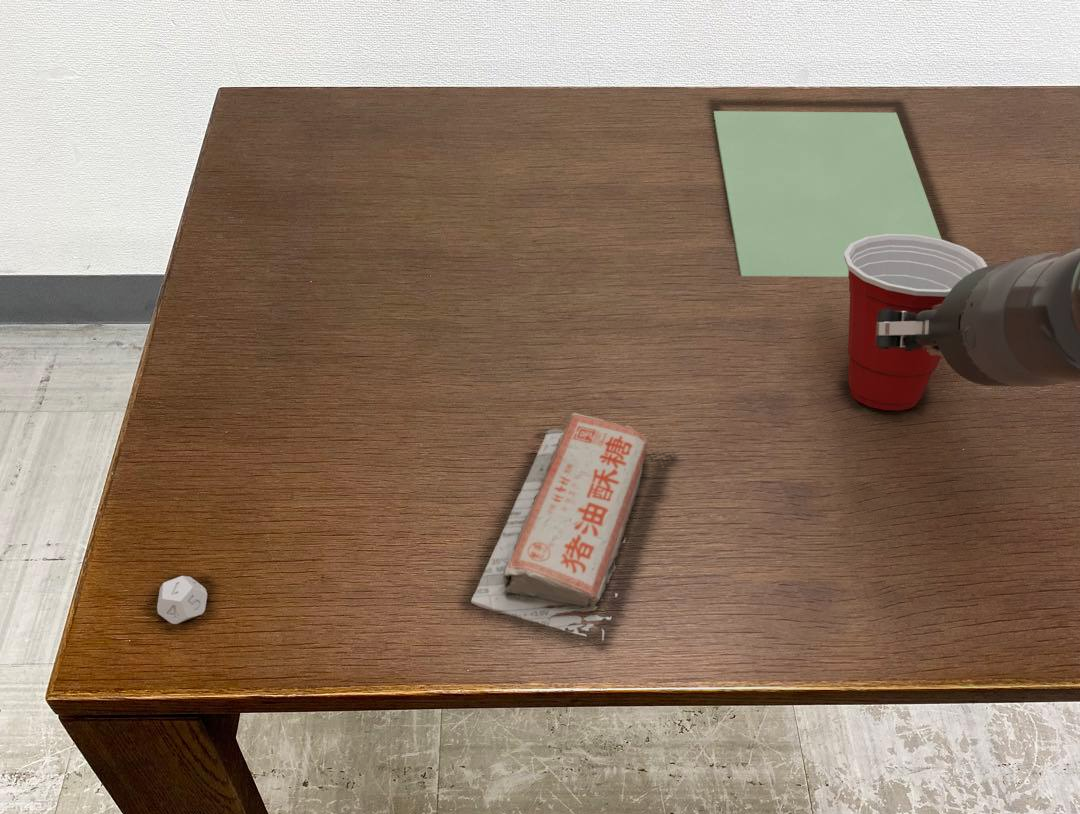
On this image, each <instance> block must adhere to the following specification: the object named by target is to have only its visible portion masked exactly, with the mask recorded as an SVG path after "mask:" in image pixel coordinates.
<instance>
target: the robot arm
mask: <svg viewBox="0 0 1080 814" xmlns="http://www.w3.org/2000/svg"><path fill="white" fill-rule="evenodd" d="M876 336H877V337H876V347H879V348H881V349H889V348H892V349H905V351H912V350H926V352H929V355H930V356H941V358H940V359H944V360H945V362H946V363H947V364H948V365H949V367H950V368H951V369H952V371H954V372H955V373H956V374H957V375H959V376H960V377H961V378H963V379H965V380H967V381H969V382H971V383H974V384H977V385H980V386H981V385H982V386H988V387H1049V386H1056V385H1059V384H1065V383H1080V247H1077V248H1073V249H1070V250H1066V251H1061V252H1059V251H1056V252H1055V251H1053V252H1041V253H1036V254H1030V255H1027V256H1023V257H1019V258H1015V259H1010V260H1006V261H1003V262H999V263H995V264H991V265H987V267H984V268H981V269H978V270H976V271H974V272H972V273H970V274H968V275H967V276H965V277H964V278H963V279H961V280H960V281H959V282H958V283H957V284H956V285H955V286H954V287H953V288H952V289H951V291H950V292H949V293H948V295H947V296H946V298H945V299H944V301H943V303H942V304H939V305H935V306H933V307H932V309H931V310H926V311H922V312H920V313H919V314H914V312H907V311H896V310H891V308H884V309H883V310H881V311H877V327H876Z"/></svg>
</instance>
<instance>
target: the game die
mask: <svg viewBox="0 0 1080 814" xmlns="http://www.w3.org/2000/svg"><path fill="white" fill-rule="evenodd" d="M158 592H159V593H158V598H157V603H156V605H157V606H156V609H157V615H159V616H160V617H162V618H163V619H164V620H166V621H167V622H168V623H170V624H171V625H179V624H180V623H183V622H185V621H188V620H191V619H194V618H196V617H200V616H201V615H203V614H204V612H205V611H206V607H207V599H208V592H207V589H206V588H205V587H204V586H203V585H202V584H200V583H199V582H198V581H197V580H195V579H194V578H193V577H191V576H187V575H180V576H177V577H175V578H173V579H169V580H167V581H165V582H162V584H161V586H160V587H159V591H158Z"/></svg>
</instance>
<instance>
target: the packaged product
mask: <svg viewBox="0 0 1080 814" xmlns="http://www.w3.org/2000/svg"><path fill="white" fill-rule="evenodd" d="M647 439H648V438H647V437H646V436H645V435H644V434H642V433H640V432H639V431H636V429H634V428H633V427H632V426H630V425H628V424H627V425H622V424H619V423H616V422H609V421H606V420H604V419H602V418H597V417H594V416H589V415H584V414H580V413H577V412H572V413H571V415H570V418H569V419H568V421H567V426H566V427H565V428H564V429H563V430H561V429H559V428H554V429H553V428H552V429H549V430H546V433H545V435H544V438H543V440H542V443H541V445H540V447H539V450H538V451H537V453H536V456H535V459H534V461H533V463H532V465H531V467H530V470H529V472H528V474H527V476H526V479H525V481H524V483H523V485H522V487H521V490H520V492H519V494H518V495H517V497H516V500H515V502H514V504H513V507H512V510H511V511H510V514H509V516H508V518H507V521H506V523H505V525H504V528H503V530H502V532H501V534H500V536H499V539H498V541H497V543H496V545H495V547H494V549H493V551H492V553H491V556H490V558H489V560H488V563H487V565H486V567H485V569H484V571H483V573H482V576H481V578H480V580H479V583H478V585H477V588H476V590H475V592H474V594H473V596H472V597H471V601H470V603H471V604H472V605H475V606H476V607H479V608H483V609H487V610H489V611H492V612H497V613H499V614H502V615H503V614H504V615H508V616H510V617H514V618H519V619H522V620H523V621H524V620H525V621H529V622H534V623H537V624H540V625H543V626H547V627H550V628H555V629H558V630H561V631H564V632H566V633H567V632H568V633H571V634H575V635H579V636H583V637H587V638H588V635H587V634H586V633H581V632H580V631H579V630H578V628H580V629H581V630H582V631H585V632H589V629H590V628H592V627H594V626H595V625H594V623H587V624H586V625H585V624H582V621H583V620H584V621H586V622H590V621H592V622H593V621H602V620H603V619H605V620H606V621H611V620H612V616H599V614H591V615H586V616H585V617H584V618H582V617H581V616H579V615H560V616H555V615H556V614H563V613H564V614H565V613H572V612H583V613H585V612H588V613H589V612H593V611H596V610H597V608H598V606H597V605H596V604H598V602H599V601H600V602H602V601H603V600H604V598H602V595H603V594H604V592H605V590H606V585H607V584H608V583H609V582H610V579H611V577H612V575H613V572H614V571H615V570H616V568H617V565H616V558H617V557H618V554H619V549H620V547H621V545H622V544H624V543H626V536H625V537H624V534H625V531H626V528H627V523H628V522H629V516H630V515H631V512H632V507H634V505H635V501H636V500H635V499H636V496H637V494H638V491H639V487H640V481H641V477H642V475H643V471H644V470H643V465H644V461H645V457H646V452H647V446H648V440H647ZM623 537H624V540H623ZM622 540H623V541H622ZM618 596H619V593H616V592H614V597H615V598H617V597H618ZM549 606H553V607H552V608H550V607H549ZM559 606H560V607H559ZM574 623H575V624H574ZM572 624H573V625H572ZM566 629H568V630H566ZM601 633H602V636H601V637H602V638H601V639H602V640H601V641H602V642H604V637H605V630H604V629H603V628H601Z"/></svg>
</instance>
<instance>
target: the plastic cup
mask: <svg viewBox="0 0 1080 814" xmlns="http://www.w3.org/2000/svg"><path fill="white" fill-rule="evenodd" d="M844 259H845V262H846V264H847V267H848V270H849V274H848V277H847V278H848V280H849V281H848V292H849V311H848V312H849V315H848V316H849V317H848V343H847V353H848V355H849V357H848V375H847V376H848V377H847V384H848V386H849V391H850V395H851V397H852V398H853V399H855V401H857V402H859V403H861V404H863V405H865V406H868V407H870V408H874V409H879V410H883V411H904V410H909V409H912V408H914V407H915V406H918V403H919V400H921V399H922V397H923V394H924V392H925V391H926V389H927V385H928V384H929V381H930V379H931V376H932V375H933V372H935V371H936V369H937V366H938V365H939V362H940V361H941V359H942V358H941V356H930V355H929V352H926V350H912V351H905V349H892V348H889V349H881V348H879V347H876V337H877V336H876V327H877V311H881V310H883V309H884V308H891V310H896V311H907V312H914V314H919V313H920V312H922V311H926V310H931V309H932V307H933V306H935V305H939V304H942V303H943V301H944V299H945V298H946V296H947V295H948V293H949V292H950V291H951V289H952V288H953V287H954V286H955V285H956V284H957V283H958V282H959V281H960V280H961V279H963V278H964V277H965V276H967V275H968V274H970V273H972V272H974V271H976V270H978V269H981V268H984V267H987V266H988V265H987V263H986V261H985V260H984V259H983V257H982V256H980V255H978V254H976V253H975V252H973V251H972V250H970V249H968V248H966V247H965V246H962V245H959V244H956V243H953V242H950V241H948V240H945V239H942V238H941V239H936V238H931V237H925V236H919V235H908V234H884V235H877V236H870V237H865V238H862V239H860V240H858V241H856V242H853V243H851V244H850V245H849V246H848V248H847V249H846V251H845V253H844Z"/></svg>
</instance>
